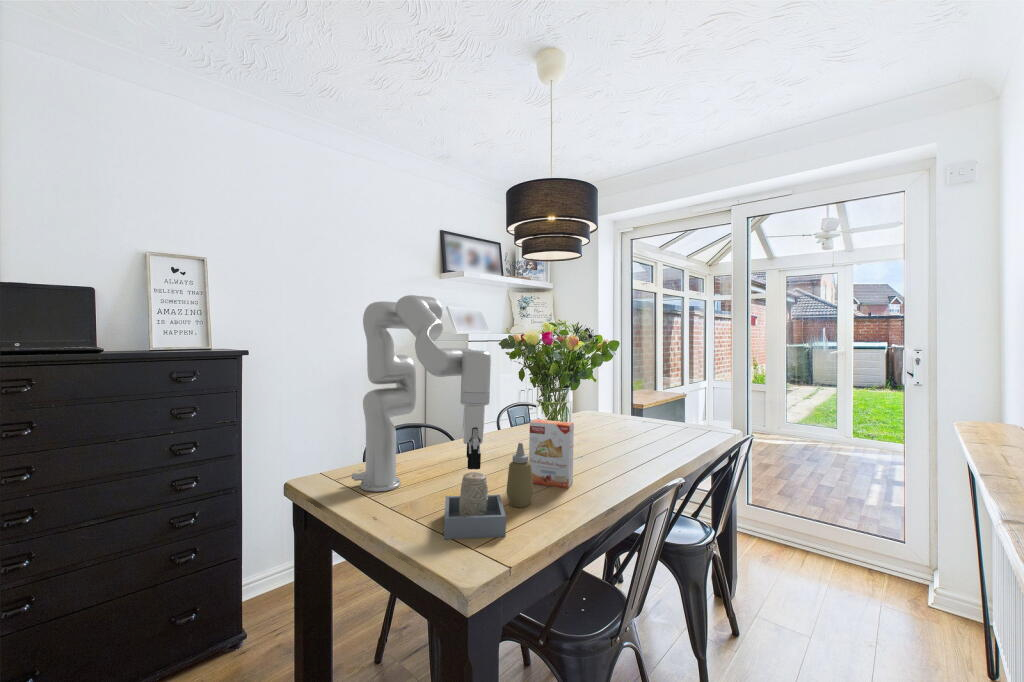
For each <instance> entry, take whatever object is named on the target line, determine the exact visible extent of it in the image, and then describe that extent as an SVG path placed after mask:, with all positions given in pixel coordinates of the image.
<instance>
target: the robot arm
mask: <svg viewBox="0 0 1024 682" xmlns="http://www.w3.org/2000/svg"><path fill="white" fill-rule="evenodd" d="M442 317H443V307H442V304H441V303H440V301H439V300H438V299H436V298H434V297H432V296H424V295H415V294H414V295H411V294H409V295H404V296H402V297H400V298H399V299H398V300H397V302H395V301H375V302H374V301H373V302H372V303H369V304H368V305H367V306H366V308H365V310H364V311H363V317H362V327H363V331H364V334H365V335H364V336H365V341H366V356H367V357H366V362H367V363H366V366H367V369H366V370H367V378H368V380H369V382H370V383H371V384H373V385H391V384H394V385H395V387H383V388H377V389H376V388H375V389H372V390H370V391H368V392H366V394H365V395H364V397H363V399H362V408H363V413H364V419H365V421H364V422H365V471H362V472H353V473H352V472H351V473H352V474H351V480H353V481H354V482H358V481H361V482H360V489H361V490H363V491H366V492H386V491H391V490H394V489H397V488H398V487H399V486H400V485H401V481H402V480H401V479H400V478H399V477H397V473H396V472H397V430H396V427H395V425H394V423H393V422H392V420H391V418H392V417H398V416H405V415H409V414H411V413H413V411H414V410H415V408H416V405H417V371H416V366H415V363H414V361H413V359H412V358H411V356H408V355H405V354H395V341H394V339H393V336H392V335H391V333H390V332H389V331H388V329H400V330H404V329H405V330H409V332H411V334H412V335H413V336H414V337H415V342H414V349H415V350H414V351H415V355H416V359H417V360H418V361H419V362H420V364H421V365H422V367H424V369H425V371H427V372H429V374H430V375H431V376H434V377H437V378H445V377H460V376H461V377H460V379H461V380H460V384H461V385H460V405H463V422H462V423H463V424H462V425H463V427H462V441H463V442H462V443H463V444H464V445H466V458H467V470H480V469H481V464H482V463H481V458H482V457H481V455H482V453H481V444H483V441H484V430H485V410H486V409H485V408H486V406H488V405H490V396H491V395H490V392H491V391H490V390H491V366H492V364H491V363H492V360H491V359H492V358H491V357H492V355H491V353H490V352H489V351H486V350H479V349H478V350H477V349H476V350H473V349H471V348H466V347H460V348H459V347H451V348H450V347H449V348H448V347H447V348H446V347H445V348H444V347H442V348H440V347H439V346H437V344H436V343H435V341H436V340H438V338H439V337H441V335H442V332H443V329H444V328H443V322H442V321H441V318H442Z"/></svg>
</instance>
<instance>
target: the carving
mask: <svg viewBox="0 0 1024 682" xmlns="http://www.w3.org/2000/svg"><path fill="white" fill-rule="evenodd" d="M488 495H489V493H488V479H487V476H486V475H485V474H484V473H482V472H475V471H469V472H467V473H465V474H464V475H463V476H462V480H461V486H460V494H459V496H460V502H459V511H460V516H485V513H486V508H487V502H488Z"/></svg>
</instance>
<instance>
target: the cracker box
mask: <svg viewBox="0 0 1024 682" xmlns="http://www.w3.org/2000/svg"><path fill="white" fill-rule="evenodd" d="M574 425H575V423H574V422H570V421H560V420H559V421H558V420H550V419H549V420H548V419H537V418H535V419H532V420H531V421H530V422H529V437H528V438H529V440H528V441H529V443H528V444H529V446H528V447H529V449H528V452H529V454H528V462H529V463H530V464H531V469H532V481H533V484H538V485H543V486H551V487H555V488H556V487H557V488H562V489H570V487H571V486H572V484H573V481H574V479H573V478H574V477H573V475H574V435H575V434H574V432H575V431H574V429H575V427H574Z"/></svg>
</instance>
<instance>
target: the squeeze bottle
mask: <svg viewBox="0 0 1024 682" xmlns="http://www.w3.org/2000/svg"><path fill="white" fill-rule="evenodd" d="M517 443H518V444H517V449H516V453H515V454H512V461H511V462H510V463H509V464H508V466H509V467H508V473H507V482H506V496H507V499H508V502H509V503H508V504H509V505H510V506H512V507H516V508H526V507H528V506H530V505H531V501H532V499H533V495H534V483H533V481H532V469H531V464H530V463H529V454H526V453H525V450H524V444H523V442H517Z"/></svg>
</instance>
